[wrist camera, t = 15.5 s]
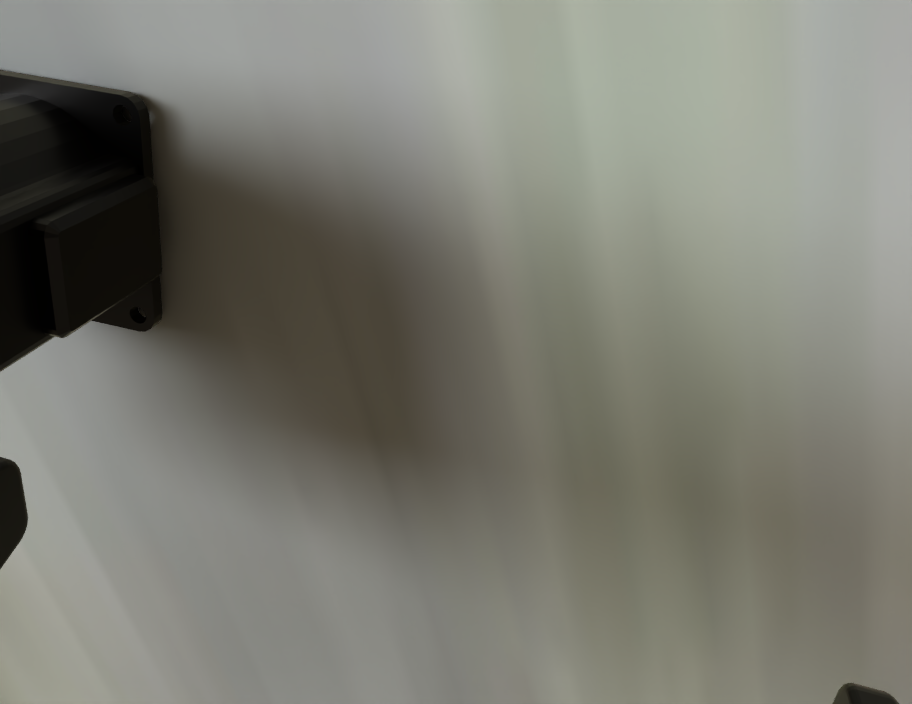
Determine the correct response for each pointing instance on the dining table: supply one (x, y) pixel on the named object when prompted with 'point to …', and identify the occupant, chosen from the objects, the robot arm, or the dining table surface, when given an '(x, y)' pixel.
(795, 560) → the dining table surface
